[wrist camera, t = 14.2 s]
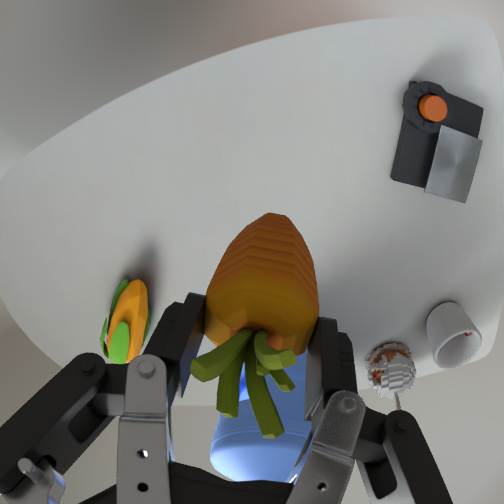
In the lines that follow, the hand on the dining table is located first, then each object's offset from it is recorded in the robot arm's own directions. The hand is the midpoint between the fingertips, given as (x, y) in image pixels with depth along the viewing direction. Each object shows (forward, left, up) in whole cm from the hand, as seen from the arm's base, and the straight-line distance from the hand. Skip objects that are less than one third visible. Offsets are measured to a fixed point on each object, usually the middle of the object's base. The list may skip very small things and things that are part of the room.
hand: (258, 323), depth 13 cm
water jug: (+30, +5, -27) cm, 40 cm away
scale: (-7, +18, -27) cm, 33 cm away
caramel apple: (+28, +23, -27) cm, 45 cm away
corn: (+27, -21, -27) cm, 43 cm away
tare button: (-11, +15, -24) cm, 30 cm away
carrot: (0, 0, -11) cm, 11 cm away
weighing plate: (-5, +19, -24) cm, 31 cm away
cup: (+19, +30, -27) cm, 44 cm away
